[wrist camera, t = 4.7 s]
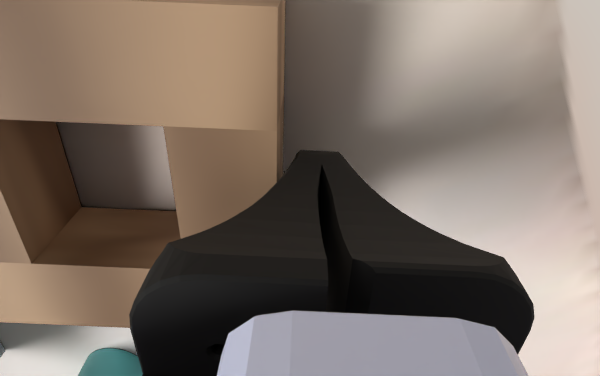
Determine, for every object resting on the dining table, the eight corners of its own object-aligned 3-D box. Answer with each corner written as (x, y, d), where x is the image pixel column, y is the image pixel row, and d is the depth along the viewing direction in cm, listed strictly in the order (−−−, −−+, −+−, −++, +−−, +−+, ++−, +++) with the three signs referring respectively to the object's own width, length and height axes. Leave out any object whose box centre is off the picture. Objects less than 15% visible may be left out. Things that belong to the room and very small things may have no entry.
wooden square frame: (285, -8, 11) (277, 6, 8) (281, 271, 16) (275, 333, 13) (-89, -24, 11) (-217, -15, 8) (30, 260, 16) (-24, 321, 13)
